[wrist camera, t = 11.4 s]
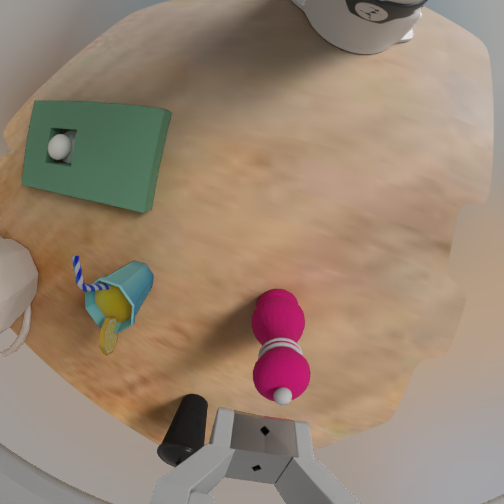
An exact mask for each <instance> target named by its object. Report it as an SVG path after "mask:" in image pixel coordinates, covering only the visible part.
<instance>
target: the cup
mask: <svg viewBox="0 0 504 504" xmlns="http://www.w3.org/2000/svg"><path fill="white" fill-rule="evenodd" d="M72 260H73V266H74V272H75V277H76V283H77V286H78V287H79V288H80V289H81V290H83V291H85V309H86V310H87V312H88V313H89V314H90V316H91V317H92V319H93V320H94V321H95V323H96V324H97V325H98V327H101V333H100V348H101V350H102V352H103V354H104V355H109V354H110V353H112V352H113V350H114V347H115V345H116V342H117V336H118V333H120V332H122V331H123V330H125V329H127V328H129V327H131V326H133V324H134V322H135V316H136V314H137V312H138V311H139V309H140V307H141V305H142V304H143V302H144V300H145V298H146V297H147V295H148V293H149V292H150V290H151V288H152V284H153V276H154V275H153V274H152V272H151V271H150V269H149V268H148V266H147V265H146V264H144V263H141V262H137V261H133V262H131V263H129V264H127V265H126V266H124V267H122V268H120V269H119V270H117V271H115V272H114V273H112V274H110V275H108V276H107V277H104V276H103V277H101V278H99V279H98V280H96V281H95V282H93V283H92V284H85V283H84V280H83V275H82V270H81V265H80V259H79V256H73V257H72Z"/></svg>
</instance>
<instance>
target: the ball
mask: <svg viewBox="0 0 504 504" xmlns="http://www.w3.org/2000/svg"><path fill="white" fill-rule="evenodd" d="M71 148H72V143H71V140H70V138H69V137H68V136H67V135H64V134H58V135H55V136H54V137H53V138H52V139H51V140H50V142H49V144H48V153H49V155H50V156H51V157H52V158H53V159H56V160H61V159H64V158H65V157H67V156H68V155H69V153H70V151H71Z"/></svg>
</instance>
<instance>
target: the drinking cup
mask: <svg viewBox="0 0 504 504" xmlns="http://www.w3.org/2000/svg"><path fill="white" fill-rule="evenodd" d="M207 407H208V404H207V401H206V400H205V399H204V398H203V397H201V396H199V395H196V394H188V395H186V396H185V397H184V398H183V400H182V402H181V404H180V406H179V408H178V410H177V412H176V414H175V417H174V419H173V421H172V423H171V425H170V427H169V429H168V431H167V433H166V435H165V438H164V440H163V442H162V444H161V445H159V447H158V449H157V453H158V456H159V457H160V458H161V459H162V460H163V461H164V462H166V463H167V464H169V465H171V466H174V467H177V466H178V465H179V464H181V463H182V462H183V461H185V460H186V459H187V458H189V457H190V456H191V455H193V454H194V453H195V452H197V451H198V450H199V449H201V448H202V447H203V446H204V440H205V428H206V417H207Z"/></svg>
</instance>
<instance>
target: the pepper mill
mask: <svg viewBox="0 0 504 504" xmlns="http://www.w3.org/2000/svg"><path fill="white" fill-rule="evenodd" d="M304 326H305V318H304V313H303V311H302V309H301V307H300V306H299V305H298V302H297V299H296V298H295V296H294V295H293V294H292V293H290V292H288V291H286V290H282V289H273V290H270V291H267V292H265V293H264V294H263V295H262V296H261V297H260V298H259V300H258V302H257V306H256V309H255V311H254V313H253V316H252V328H253V332H254V334H255V336H256V338H257V340H258V341H259V342H260V343H261V344H262V347H261V349H260V351H259V355H258V361H257V362H256V363H255V367H254V370H253V381H254V384H255V387H256V389H257V390H258V392H259V393H260V394H261V395H262V396H264V397H265V398H267V399H269V400H272V401H275V402H276V403H278V404H280V405H285V404H287V403H289V402H290V401H291V400H293V399H295V398H297V397H299V396H300V395H301V394H302V393H303V392H304V391H305V390H306V388H307V386H308V384H309V381H310V368H309V365H308V362H307V360H306V359H305V358H304V357H303V354H302V349H301V347H300V346H299V345H298V344H297V342H298V340H299V339H300V337H301V335H302V333H303V330H304Z"/></svg>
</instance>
